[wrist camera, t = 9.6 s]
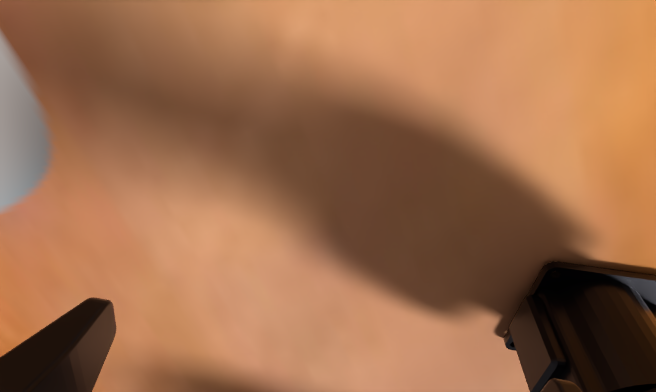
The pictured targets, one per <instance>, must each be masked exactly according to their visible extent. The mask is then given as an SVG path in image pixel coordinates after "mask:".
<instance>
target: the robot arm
mask: <svg viewBox="0 0 656 392" xmlns="http://www.w3.org/2000/svg"><path fill="white" fill-rule="evenodd" d="M554 271H556V272H554ZM552 272H554V273H552ZM115 333H116V322H115V315H114V308H113V303H112V302H111V301H110V300H106V299H100V298H89V299H87V300H85V301H83V302H82V303H80V304H79V305H77V306H76V307H74V308H73V309H72V310H70V311H69V312H67V313H66V314H64V315H63V316H61V317H60V318H58V319H57V320H55V321H54V322H52V323H51V324H49V325H48V326H46V327H45V328H43V329H42V330H40V331H39V332H37V333H36V334H34V335H33V336H31V337H30V338H28V339H27V340H25V341H24V342H22V343H21V344H19V345H18V346H16V347H15V348H13V349H12V350H11V351H9V352H8V353H6V354H5V355H3V356H2V357H0V392H92V390H93V388H94V385H95V383H96V381H97V378H98V376H99V373H100V371H101V369H102V366H103V364H104V361H105V359H106V357H107V354H108V352H109V349H110V347H111V345H112V342H113V340H114V337H115ZM504 342H505V345H506V348H508V349H510V350H516V351H517V354H518V357H519V360H520V363H521V366H522V369H523V372H524V375H525V378H526V381H527V384H528V387H529V390H530V392H656V276H654V275H647V274H640V273H633V272H626V271H619V270H612V269H605V268H598V267H591V266H584V265H576V264H569V263H562V262H550V263H548V264H546V265H545V266H544V267H543V268H542V270H541V272H540V274H539V276H538V277H537V279H536V281H535V283H534V285H533V286H532V288H531V290H530V292H529V294H528V295H527V296H526V297H525V298H524V300H523V302H522V304H521V306H520V307H519V309H518V311H517V313H516V315H515V316H514V318H513V320H512V322H511V324H510V326H509V330H508V331H507V333H506V335H505V337H504Z"/></svg>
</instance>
